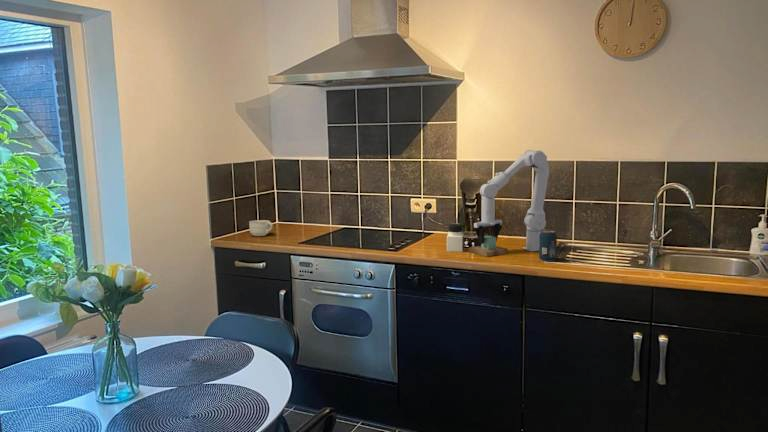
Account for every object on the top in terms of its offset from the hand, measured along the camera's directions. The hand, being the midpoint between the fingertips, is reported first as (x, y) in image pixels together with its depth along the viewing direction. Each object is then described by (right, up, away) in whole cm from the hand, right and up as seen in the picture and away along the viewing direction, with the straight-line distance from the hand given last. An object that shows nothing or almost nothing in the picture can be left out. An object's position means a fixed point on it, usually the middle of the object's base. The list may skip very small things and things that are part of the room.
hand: (487, 242), depth 263 cm
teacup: (-110, +1, +53) cm, 122 cm away
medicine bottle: (-13, -4, +7) cm, 16 cm away
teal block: (0, -3, 0) cm, 3 cm away
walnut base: (0, -5, +1) cm, 5 cm away
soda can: (+22, -7, -15) cm, 28 cm away
